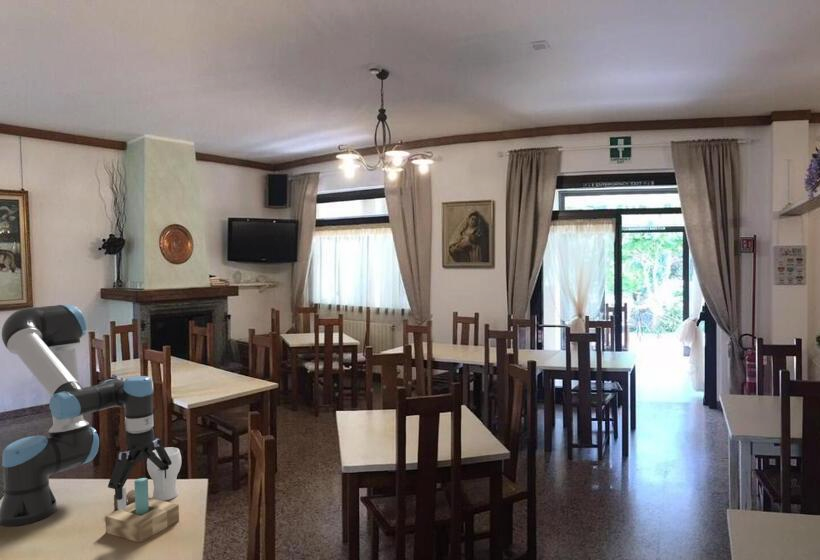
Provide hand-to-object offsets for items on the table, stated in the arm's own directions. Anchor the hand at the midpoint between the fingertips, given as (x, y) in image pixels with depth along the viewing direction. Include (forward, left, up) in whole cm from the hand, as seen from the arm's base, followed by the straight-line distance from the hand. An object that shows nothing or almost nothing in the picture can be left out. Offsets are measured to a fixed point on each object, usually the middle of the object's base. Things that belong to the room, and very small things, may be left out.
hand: (142, 499), depth 166 cm
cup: (-11, +18, -8) cm, 23 cm away
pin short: (-16, +5, -8) cm, 19 cm away
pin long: (0, 0, -8) cm, 8 cm away
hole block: (0, 0, -8) cm, 8 cm away
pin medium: (-12, +7, -7) cm, 15 cm away
